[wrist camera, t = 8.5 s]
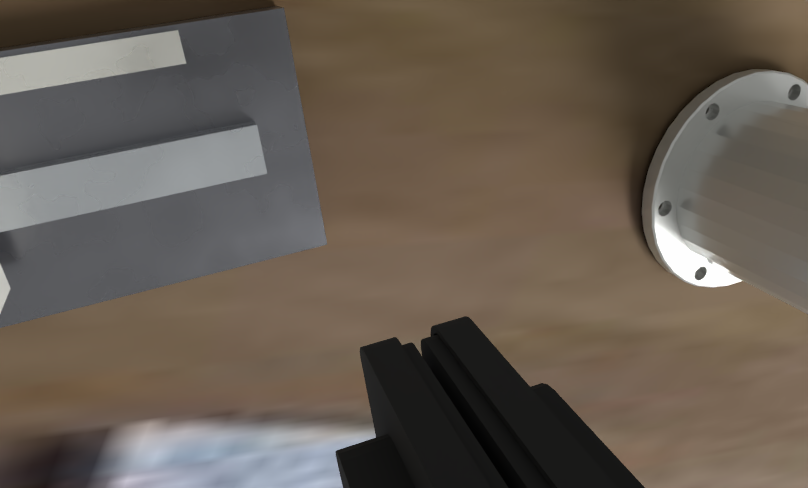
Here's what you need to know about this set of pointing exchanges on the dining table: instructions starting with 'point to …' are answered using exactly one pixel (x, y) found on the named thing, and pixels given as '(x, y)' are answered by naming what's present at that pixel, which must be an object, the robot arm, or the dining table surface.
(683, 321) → the dining table surface
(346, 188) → the dining table surface
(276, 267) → the dining table surface
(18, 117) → the gauge bench
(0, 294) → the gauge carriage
